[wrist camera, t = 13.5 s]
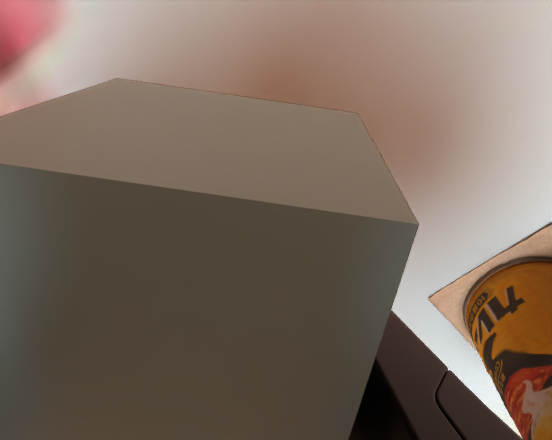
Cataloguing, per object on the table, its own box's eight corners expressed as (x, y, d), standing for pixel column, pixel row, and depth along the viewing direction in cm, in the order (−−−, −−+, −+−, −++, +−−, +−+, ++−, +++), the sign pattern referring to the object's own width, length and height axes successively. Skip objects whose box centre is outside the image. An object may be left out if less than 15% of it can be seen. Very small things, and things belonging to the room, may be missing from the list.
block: (315, 305, 11) (324, 514, 6) (126, 277, 11) (-4, 466, 6) (357, 113, 8) (419, 224, 4) (117, 78, 8) (-99, 149, 4)
